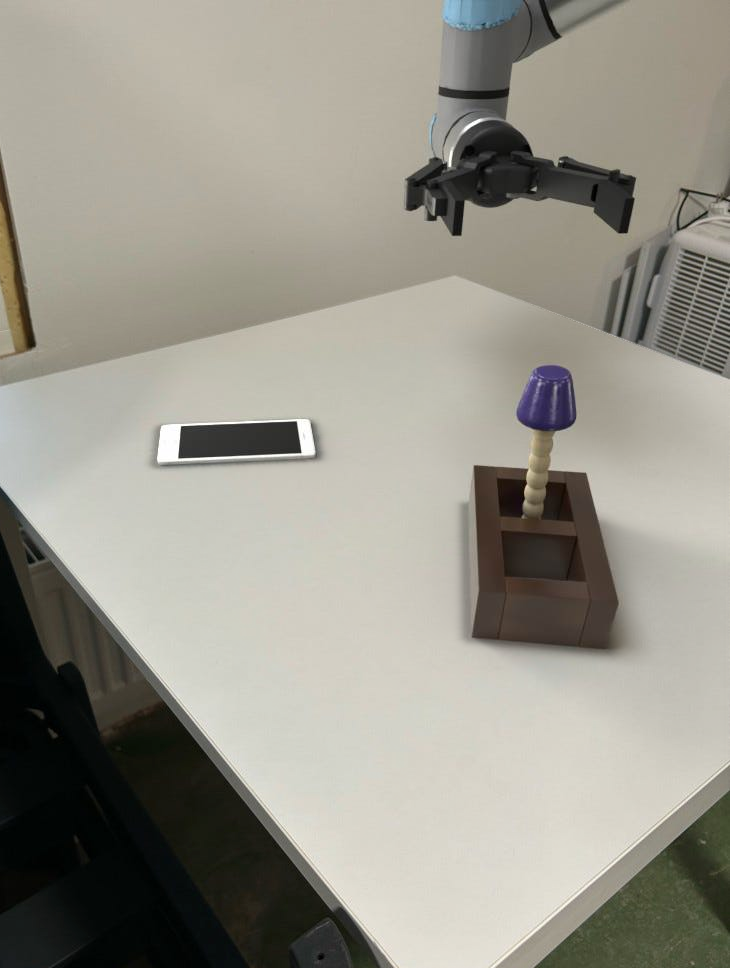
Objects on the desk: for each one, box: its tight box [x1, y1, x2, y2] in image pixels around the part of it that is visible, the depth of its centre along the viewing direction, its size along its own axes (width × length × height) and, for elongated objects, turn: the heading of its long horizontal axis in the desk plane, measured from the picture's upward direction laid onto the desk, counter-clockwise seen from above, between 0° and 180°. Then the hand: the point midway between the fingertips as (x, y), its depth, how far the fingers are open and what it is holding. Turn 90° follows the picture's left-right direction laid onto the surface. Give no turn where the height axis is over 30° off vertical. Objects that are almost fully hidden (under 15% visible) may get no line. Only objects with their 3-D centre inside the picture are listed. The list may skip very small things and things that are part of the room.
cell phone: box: [156, 418, 317, 466], centre depth 87 cm, size 8×16×1 cm, turn 96°
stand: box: [467, 464, 620, 650], centre depth 68 cm, size 10×18×5 cm, turn 173°
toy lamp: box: [515, 364, 577, 519], centre depth 68 cm, size 5×5×17 cm
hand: (543, 217), depth 66 cm, fingers open, 13 cm apart
